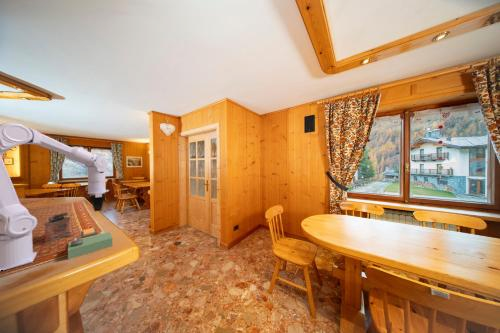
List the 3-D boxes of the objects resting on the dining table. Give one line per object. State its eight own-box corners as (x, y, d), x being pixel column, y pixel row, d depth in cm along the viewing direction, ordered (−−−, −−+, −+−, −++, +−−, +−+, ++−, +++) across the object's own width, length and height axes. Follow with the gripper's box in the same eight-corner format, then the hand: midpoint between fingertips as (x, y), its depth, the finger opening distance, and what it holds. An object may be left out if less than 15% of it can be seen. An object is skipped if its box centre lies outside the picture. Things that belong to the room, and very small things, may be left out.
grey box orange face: (81, 247, 58) (80, 235, 58) (80, 241, 63) (80, 230, 63) (97, 242, 62) (97, 231, 62) (96, 237, 66) (95, 226, 66)
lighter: (50, 241, 63) (49, 217, 63) (42, 241, 63) (41, 217, 63) (73, 233, 71) (72, 211, 71) (66, 233, 71) (65, 211, 71)
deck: (68, 259, 51) (67, 246, 51) (69, 245, 59) (69, 234, 59) (112, 245, 59) (112, 234, 59) (108, 235, 68) (107, 226, 68)
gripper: (110, 181, 70) (111, 211, 70) (106, 180, 79) (107, 206, 79) (88, 183, 64) (89, 215, 64) (86, 181, 74) (87, 209, 74)
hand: (97, 210), depth 72 cm, fingers closed
